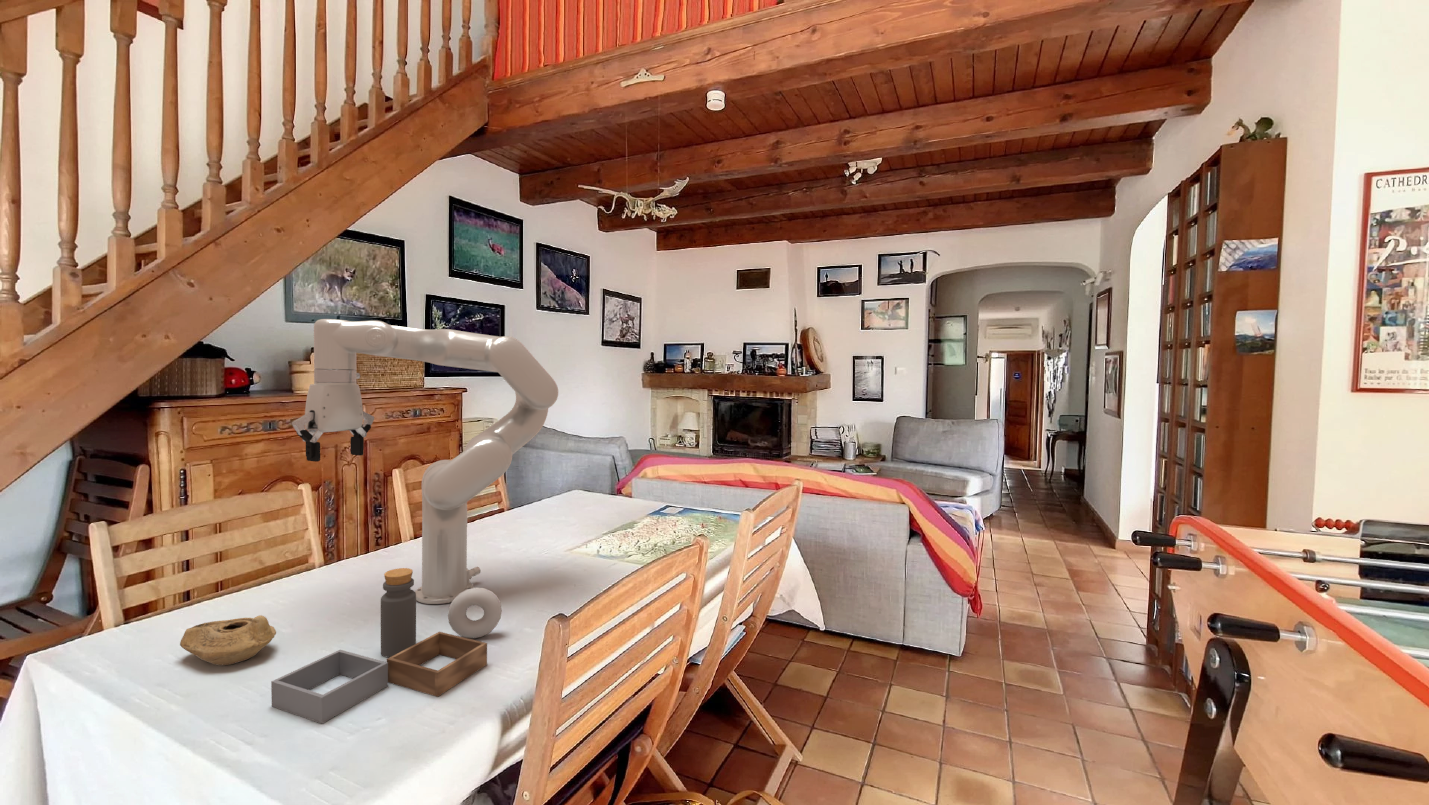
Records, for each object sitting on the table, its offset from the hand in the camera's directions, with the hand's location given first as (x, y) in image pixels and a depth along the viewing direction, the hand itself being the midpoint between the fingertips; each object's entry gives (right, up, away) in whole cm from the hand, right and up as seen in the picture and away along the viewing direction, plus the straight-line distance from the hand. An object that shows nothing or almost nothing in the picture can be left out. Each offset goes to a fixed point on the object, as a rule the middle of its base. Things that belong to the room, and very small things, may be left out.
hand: (336, 457), depth 123 cm
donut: (+33, -35, -9) cm, 49 cm away
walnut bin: (+33, -36, -22) cm, 53 cm away
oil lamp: (-7, -35, -19) cm, 40 cm away
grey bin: (+19, -36, -30) cm, 50 cm away
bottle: (+21, -35, -15) cm, 44 cm away
